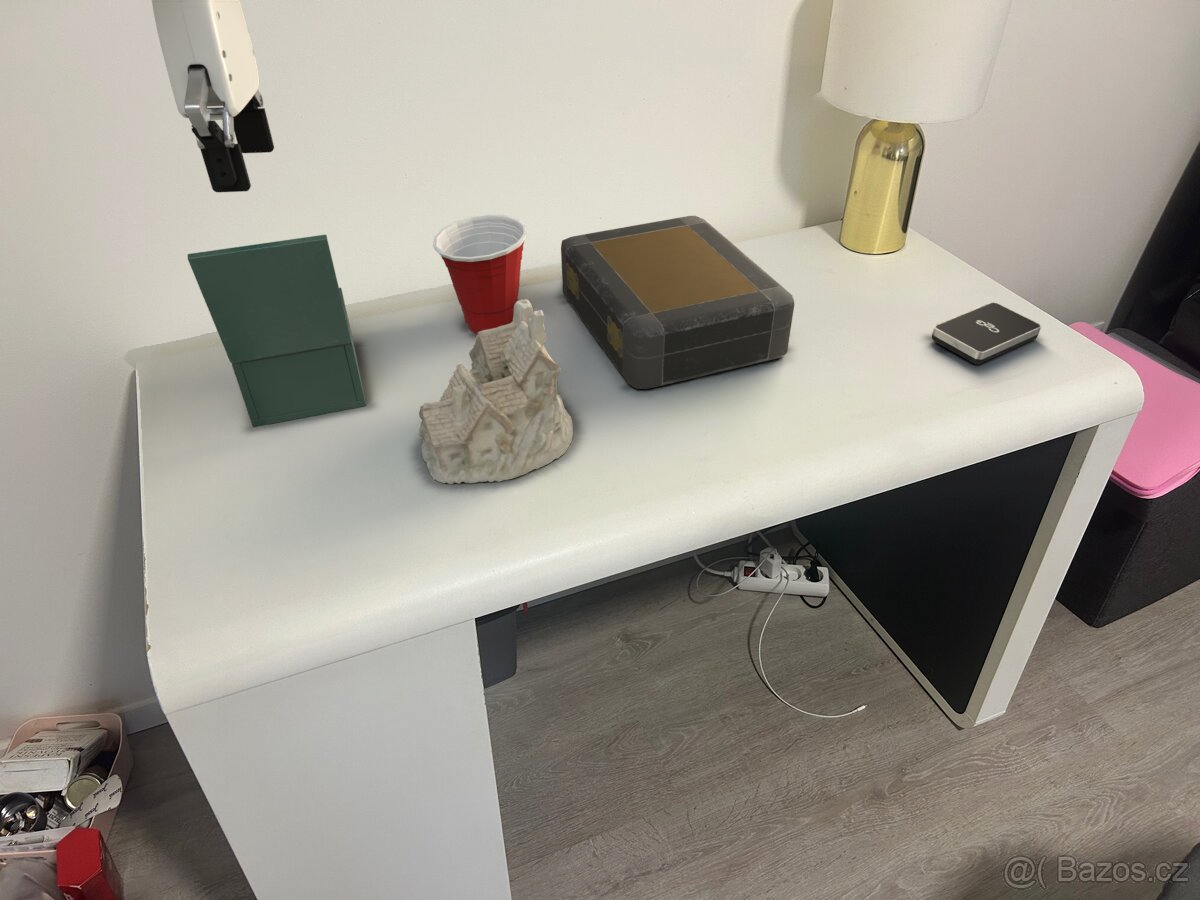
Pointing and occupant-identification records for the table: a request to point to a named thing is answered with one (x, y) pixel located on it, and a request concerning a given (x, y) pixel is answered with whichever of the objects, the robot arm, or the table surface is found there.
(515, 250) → the plastic cup
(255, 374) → the tin
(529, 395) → the ceramic cottage
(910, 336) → the table surface
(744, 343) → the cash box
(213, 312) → the lid
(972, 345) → the external hard drive
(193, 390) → the table surface
